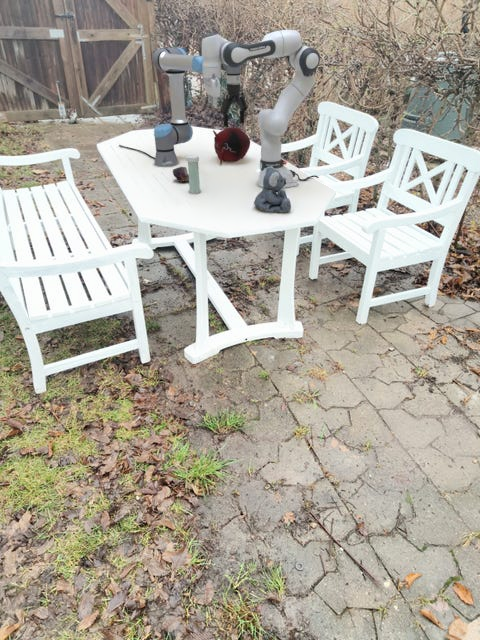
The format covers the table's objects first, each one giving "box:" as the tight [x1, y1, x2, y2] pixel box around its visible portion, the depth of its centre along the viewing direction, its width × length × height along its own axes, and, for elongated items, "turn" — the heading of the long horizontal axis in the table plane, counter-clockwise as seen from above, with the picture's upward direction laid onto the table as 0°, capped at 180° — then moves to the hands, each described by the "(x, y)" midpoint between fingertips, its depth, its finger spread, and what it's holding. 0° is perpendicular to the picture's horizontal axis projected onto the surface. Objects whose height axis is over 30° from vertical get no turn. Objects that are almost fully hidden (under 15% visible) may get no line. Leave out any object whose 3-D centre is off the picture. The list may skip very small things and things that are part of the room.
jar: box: [187, 161, 201, 195], centre depth 243 cm, size 6×6×19 cm
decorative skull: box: [212, 126, 251, 166], centre depth 295 cm, size 21×24×25 cm
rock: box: [172, 166, 189, 183], centre depth 261 cm, size 12×9×10 cm
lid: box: [186, 154, 200, 163], centre depth 238 cm, size 6×6×2 cm
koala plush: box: [253, 166, 292, 213], centre depth 221 cm, size 17×18×20 cm
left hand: (234, 125), depth 259 cm, fingers open, 13 cm apart
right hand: (212, 104), depth 224 cm, fingers open, 8 cm apart
